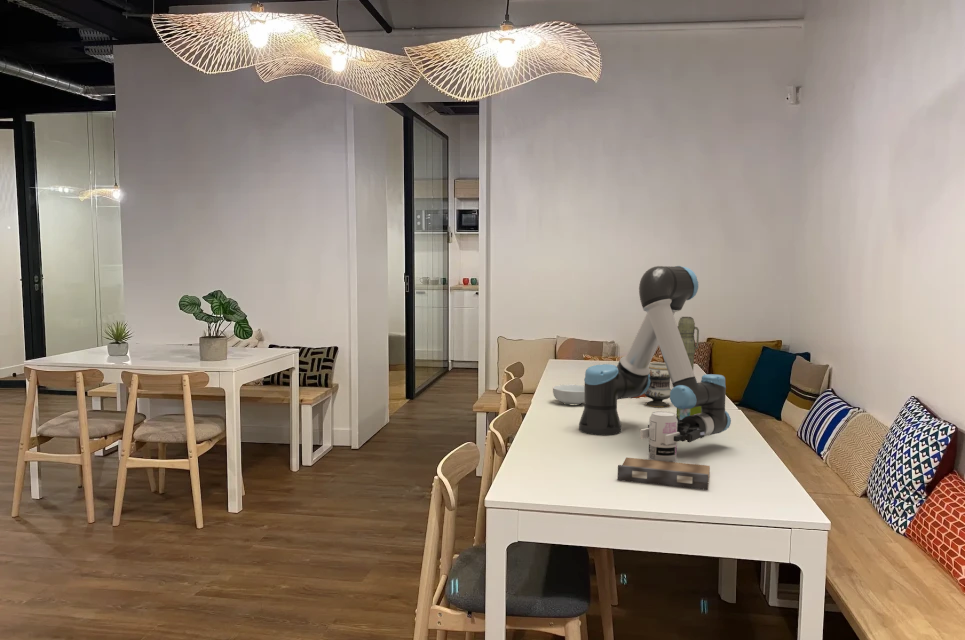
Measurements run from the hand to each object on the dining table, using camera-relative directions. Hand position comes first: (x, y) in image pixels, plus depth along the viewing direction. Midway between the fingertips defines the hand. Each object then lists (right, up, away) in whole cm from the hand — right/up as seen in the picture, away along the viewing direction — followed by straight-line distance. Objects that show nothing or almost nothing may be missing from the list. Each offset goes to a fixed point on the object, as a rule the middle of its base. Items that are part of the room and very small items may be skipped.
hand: (653, 437), depth 212 cm
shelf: (0, -9, -11) cm, 14 cm away
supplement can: (+3, -8, +4) cm, 10 cm away
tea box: (+25, -5, +46) cm, 52 cm away
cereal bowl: (-13, -1, +93) cm, 94 cm away
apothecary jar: (+24, -2, +91) cm, 94 cm away
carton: (+21, 0, +113) cm, 115 cm away
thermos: (+47, +1, +132) cm, 140 cm away
